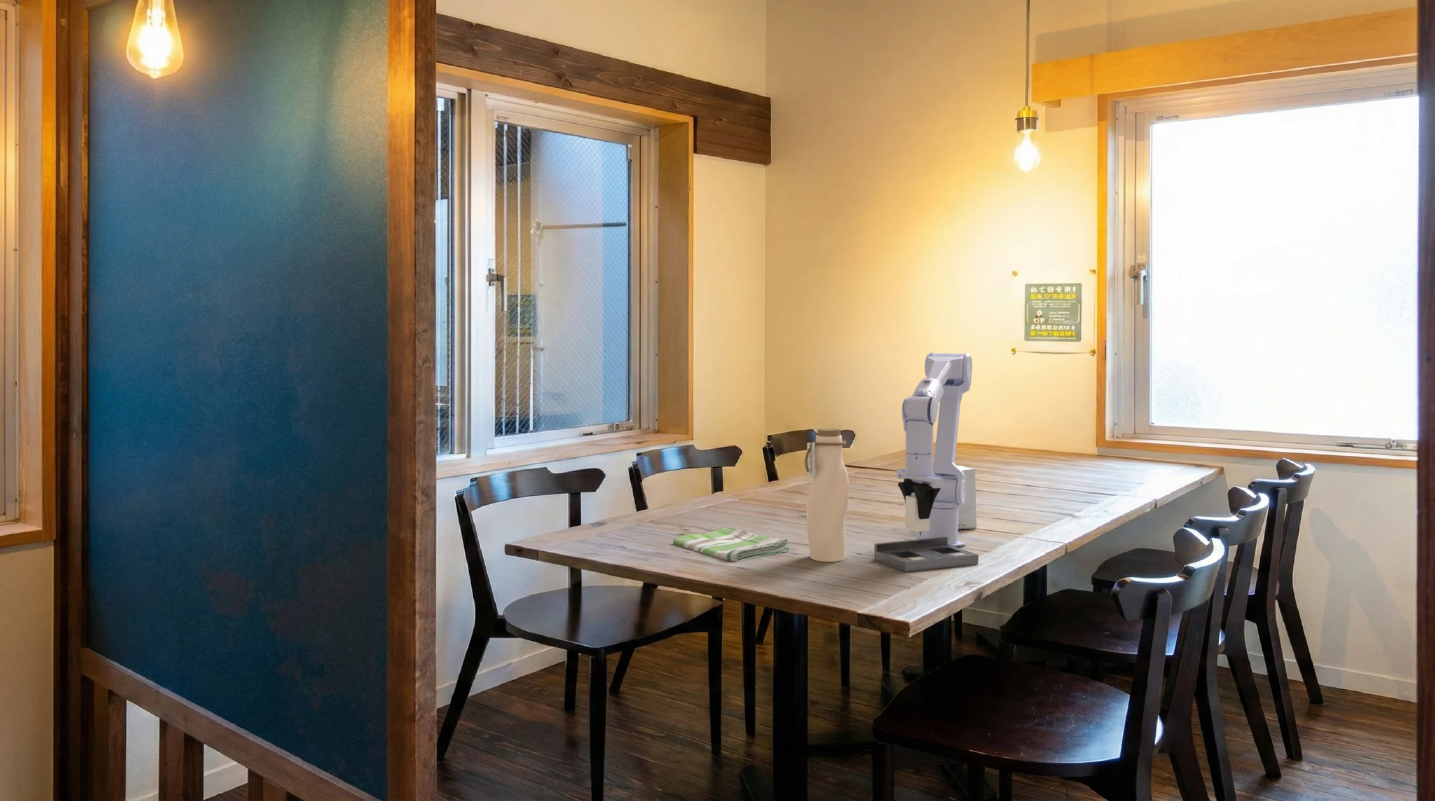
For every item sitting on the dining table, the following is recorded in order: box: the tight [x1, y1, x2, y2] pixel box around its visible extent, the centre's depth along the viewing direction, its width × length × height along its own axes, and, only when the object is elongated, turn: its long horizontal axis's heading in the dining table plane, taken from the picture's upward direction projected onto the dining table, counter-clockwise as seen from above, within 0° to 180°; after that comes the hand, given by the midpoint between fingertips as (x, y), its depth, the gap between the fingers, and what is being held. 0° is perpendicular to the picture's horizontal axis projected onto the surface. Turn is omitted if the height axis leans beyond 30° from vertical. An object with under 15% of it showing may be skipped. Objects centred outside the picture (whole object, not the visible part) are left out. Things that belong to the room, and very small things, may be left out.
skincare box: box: [947, 465, 977, 530], centre depth 249 cm, size 8×6×15 cm
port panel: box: [873, 537, 979, 573], centre depth 212 cm, size 12×18×4 cm, turn 112°
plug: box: [904, 493, 930, 533], centre depth 211 cm, size 4×4×8 cm
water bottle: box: [804, 427, 850, 563], centre depth 215 cm, size 10×9×28 cm
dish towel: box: [672, 526, 791, 563], centre depth 226 cm, size 17×23×4 cm
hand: (918, 516), depth 211 cm, fingers closed on plug, 4 cm apart
